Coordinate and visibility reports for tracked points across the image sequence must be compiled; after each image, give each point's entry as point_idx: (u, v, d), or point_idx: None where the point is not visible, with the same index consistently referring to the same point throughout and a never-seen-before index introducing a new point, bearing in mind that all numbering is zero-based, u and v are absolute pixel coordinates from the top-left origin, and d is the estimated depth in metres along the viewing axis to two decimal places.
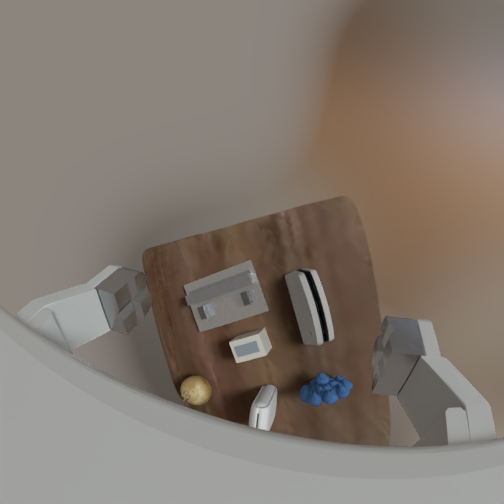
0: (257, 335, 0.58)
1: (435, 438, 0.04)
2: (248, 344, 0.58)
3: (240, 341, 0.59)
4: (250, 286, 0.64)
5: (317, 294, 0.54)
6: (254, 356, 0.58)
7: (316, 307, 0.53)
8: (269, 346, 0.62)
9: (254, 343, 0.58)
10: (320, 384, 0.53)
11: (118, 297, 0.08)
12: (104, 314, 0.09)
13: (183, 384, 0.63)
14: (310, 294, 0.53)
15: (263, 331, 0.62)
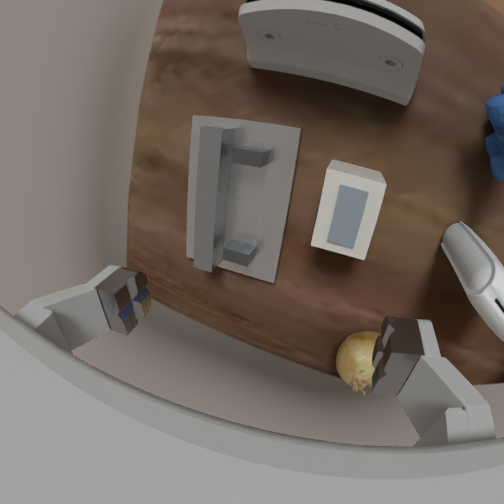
0: (329, 173, 0.22)
1: (435, 439, 0.04)
2: (338, 206, 0.22)
3: (323, 219, 0.24)
4: (236, 138, 0.28)
5: None
6: (373, 212, 0.22)
7: (324, 1, 0.14)
8: (374, 172, 0.24)
9: (343, 191, 0.22)
10: None
11: (118, 297, 0.08)
12: (104, 314, 0.09)
13: (340, 373, 0.32)
14: (286, 0, 0.14)
15: (335, 163, 0.25)
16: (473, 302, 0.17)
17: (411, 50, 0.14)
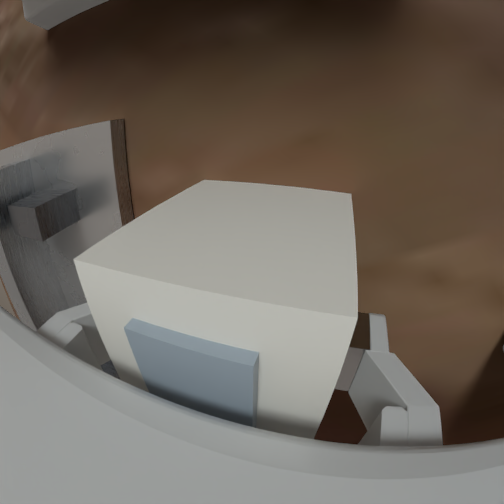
0: (87, 278, 0.05)
1: (372, 438, 0.04)
2: (157, 391, 0.05)
3: None
4: (35, 177, 0.11)
5: None
6: (299, 413, 0.05)
7: None
8: (324, 206, 0.07)
9: (148, 352, 0.05)
10: None
11: None
12: None
13: None
14: None
15: (186, 197, 0.08)
16: None
17: None
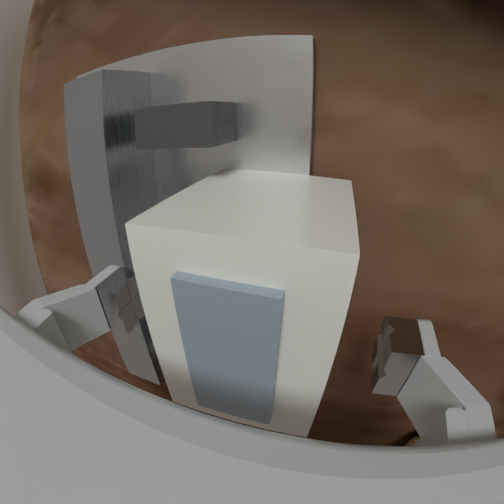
0: (137, 239, 0.06)
1: (435, 439, 0.04)
2: (191, 341, 0.07)
3: (172, 360, 0.08)
4: (156, 94, 0.10)
5: None
6: (315, 352, 0.06)
7: None
8: (329, 188, 0.09)
9: (190, 300, 0.06)
10: None
11: (118, 297, 0.08)
12: (104, 314, 0.09)
13: None
14: None
15: (212, 181, 0.09)
16: None
17: None
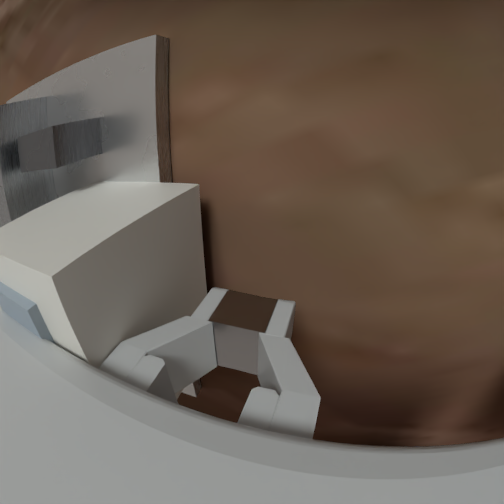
0: None
1: None
2: None
3: None
4: (50, 116, 0.10)
5: None
6: None
7: None
8: (150, 197, 0.08)
9: (3, 304, 0.05)
10: None
11: None
12: (215, 349, 0.08)
13: None
14: None
15: (65, 197, 0.09)
16: None
17: None
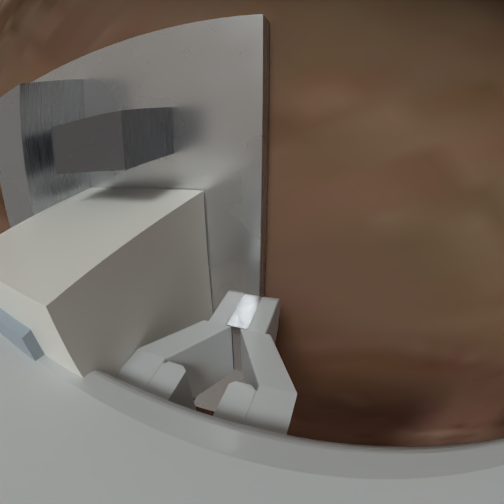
0: None
1: None
2: None
3: None
4: (89, 104, 0.08)
5: None
6: None
7: None
8: (151, 206, 0.07)
9: None
10: None
11: None
12: (232, 354, 0.08)
13: None
14: None
15: (59, 206, 0.08)
16: None
17: None
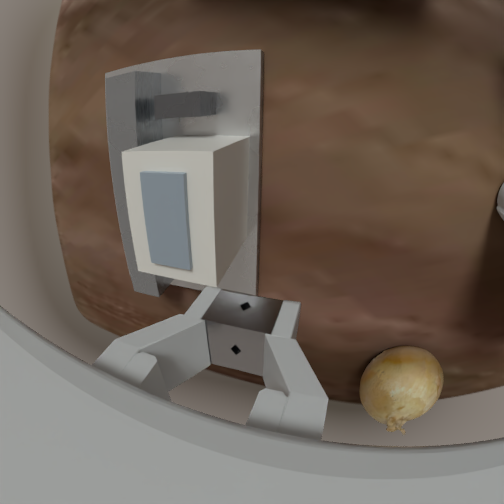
0: (126, 158, 0.13)
1: None
2: (147, 208, 0.13)
3: (139, 230, 0.15)
4: (164, 87, 0.16)
5: None
6: (204, 207, 0.13)
7: None
8: (228, 139, 0.15)
9: (147, 182, 0.13)
10: None
11: None
12: (208, 347, 0.08)
13: (367, 410, 0.20)
14: None
15: (167, 139, 0.16)
16: None
17: None
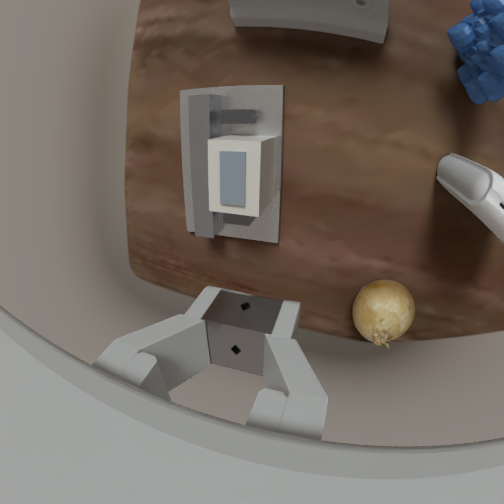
0: (210, 143, 0.25)
1: None
2: (222, 170, 0.25)
3: (213, 185, 0.26)
4: (223, 104, 0.28)
5: None
6: (255, 170, 0.25)
7: None
8: (264, 137, 0.27)
9: (223, 156, 0.25)
10: (472, 42, 0.13)
11: None
12: (208, 348, 0.08)
13: (358, 328, 0.31)
14: None
15: (228, 136, 0.28)
16: (479, 212, 0.16)
17: None
